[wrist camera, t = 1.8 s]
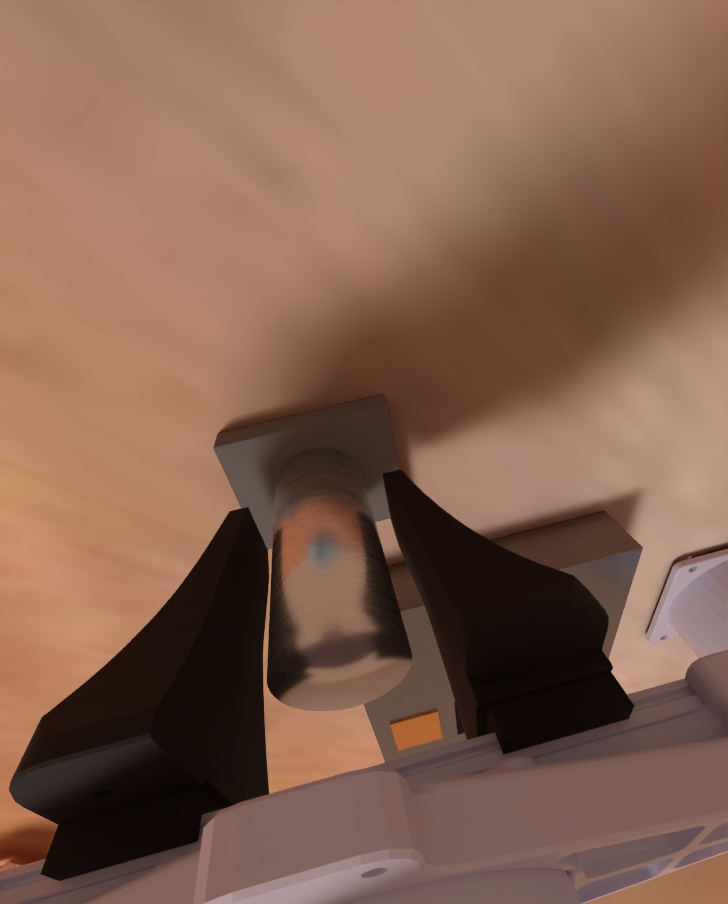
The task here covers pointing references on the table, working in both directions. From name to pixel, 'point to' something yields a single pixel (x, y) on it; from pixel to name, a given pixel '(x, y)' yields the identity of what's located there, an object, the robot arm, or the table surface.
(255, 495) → the tab
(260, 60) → the table surface
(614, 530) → the plate
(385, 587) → the steel peg
